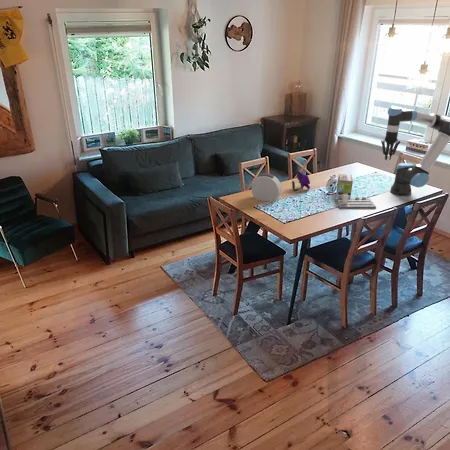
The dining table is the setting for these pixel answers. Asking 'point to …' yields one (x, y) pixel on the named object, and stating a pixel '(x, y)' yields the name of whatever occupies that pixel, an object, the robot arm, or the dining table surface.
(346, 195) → the fader
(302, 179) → the flower
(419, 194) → the dining table surface
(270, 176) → the alarm clock
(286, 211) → the dining table surface
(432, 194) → the dining table surface
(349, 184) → the tea box
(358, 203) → the console
